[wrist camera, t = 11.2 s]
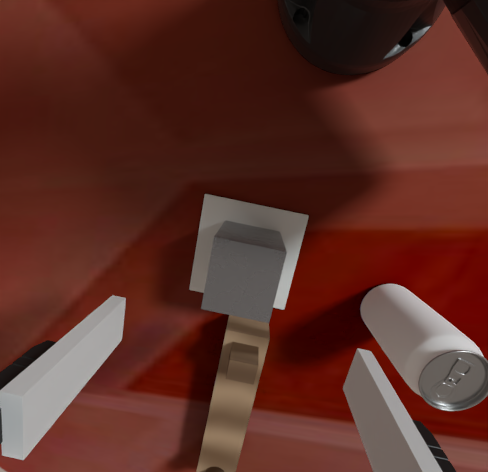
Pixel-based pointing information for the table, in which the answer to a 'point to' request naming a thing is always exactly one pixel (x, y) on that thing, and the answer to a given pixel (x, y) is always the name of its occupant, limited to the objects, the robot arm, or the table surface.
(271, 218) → the mat
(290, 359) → the table surface
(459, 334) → the can
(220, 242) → the slate gray cube
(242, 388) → the plane body
